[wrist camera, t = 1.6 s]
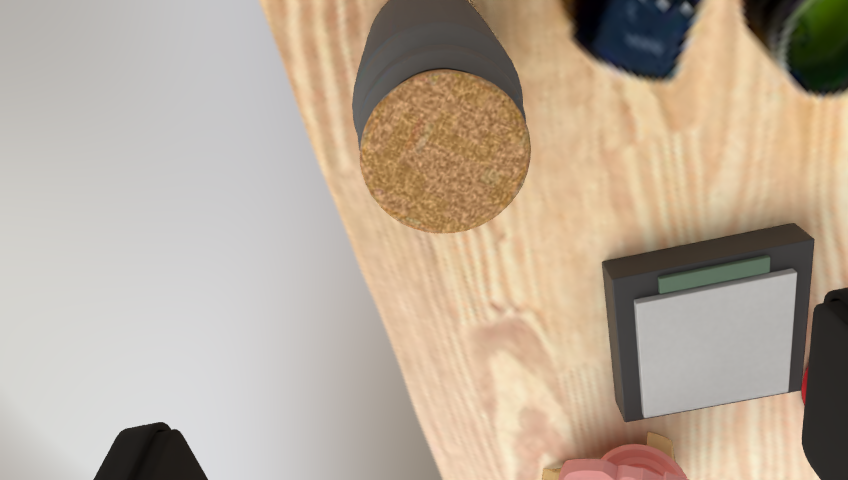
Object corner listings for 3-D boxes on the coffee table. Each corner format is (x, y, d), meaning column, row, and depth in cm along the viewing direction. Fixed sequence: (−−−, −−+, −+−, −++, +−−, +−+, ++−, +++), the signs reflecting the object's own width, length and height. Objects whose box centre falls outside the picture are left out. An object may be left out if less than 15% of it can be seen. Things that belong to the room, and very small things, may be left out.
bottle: (428, 131, 32) (445, 286, 19) (342, 50, 30) (294, 161, 17) (512, 48, 30) (596, 155, 17) (427, -44, 28) (447, -3, 15)
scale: (601, 261, 36) (614, 284, 34) (794, 222, 35) (820, 243, 33) (615, 401, 41) (627, 428, 39) (784, 369, 40) (806, 396, 38)
